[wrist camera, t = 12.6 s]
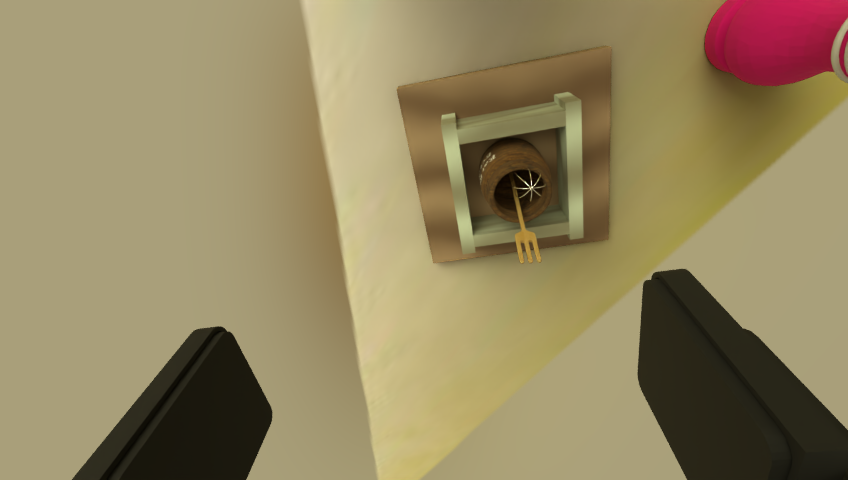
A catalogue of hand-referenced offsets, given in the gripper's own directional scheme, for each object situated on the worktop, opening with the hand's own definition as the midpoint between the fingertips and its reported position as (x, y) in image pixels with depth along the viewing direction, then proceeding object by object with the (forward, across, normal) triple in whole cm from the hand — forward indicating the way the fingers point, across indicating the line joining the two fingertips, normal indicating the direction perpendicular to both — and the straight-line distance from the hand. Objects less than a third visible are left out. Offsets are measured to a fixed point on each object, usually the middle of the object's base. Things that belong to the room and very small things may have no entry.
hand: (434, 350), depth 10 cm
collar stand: (+32, -5, +7) cm, 33 cm away
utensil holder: (+31, -5, +7) cm, 32 cm away
